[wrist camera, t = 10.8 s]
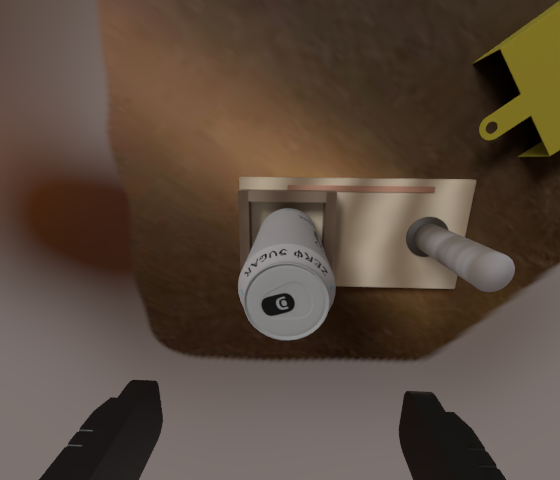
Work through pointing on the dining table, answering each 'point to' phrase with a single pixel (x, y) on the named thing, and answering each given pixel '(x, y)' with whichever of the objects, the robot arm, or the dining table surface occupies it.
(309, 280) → the energy drink can
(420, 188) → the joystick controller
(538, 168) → the dining table surface
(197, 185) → the dining table surface
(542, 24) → the bracket
